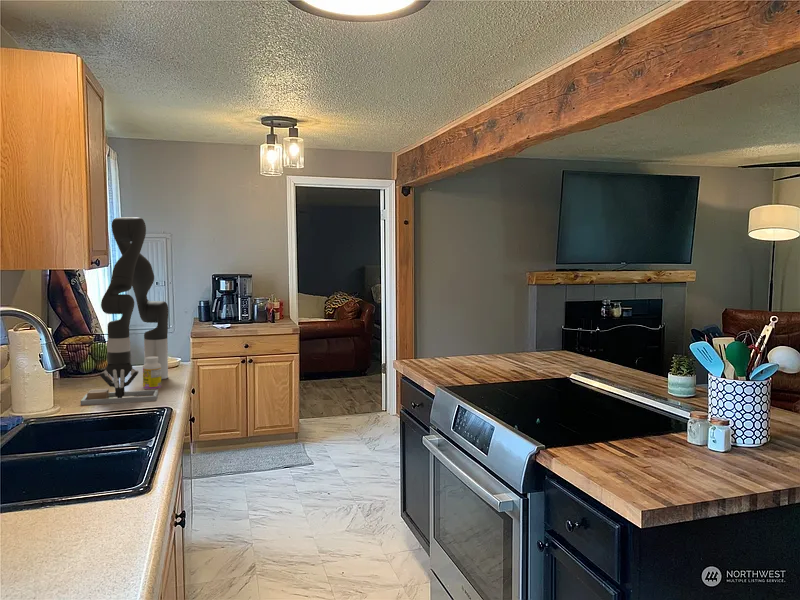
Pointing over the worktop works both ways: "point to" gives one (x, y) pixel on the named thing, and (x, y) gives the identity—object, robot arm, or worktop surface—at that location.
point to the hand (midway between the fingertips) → (119, 397)
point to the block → (98, 394)
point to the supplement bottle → (151, 373)
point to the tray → (126, 398)
